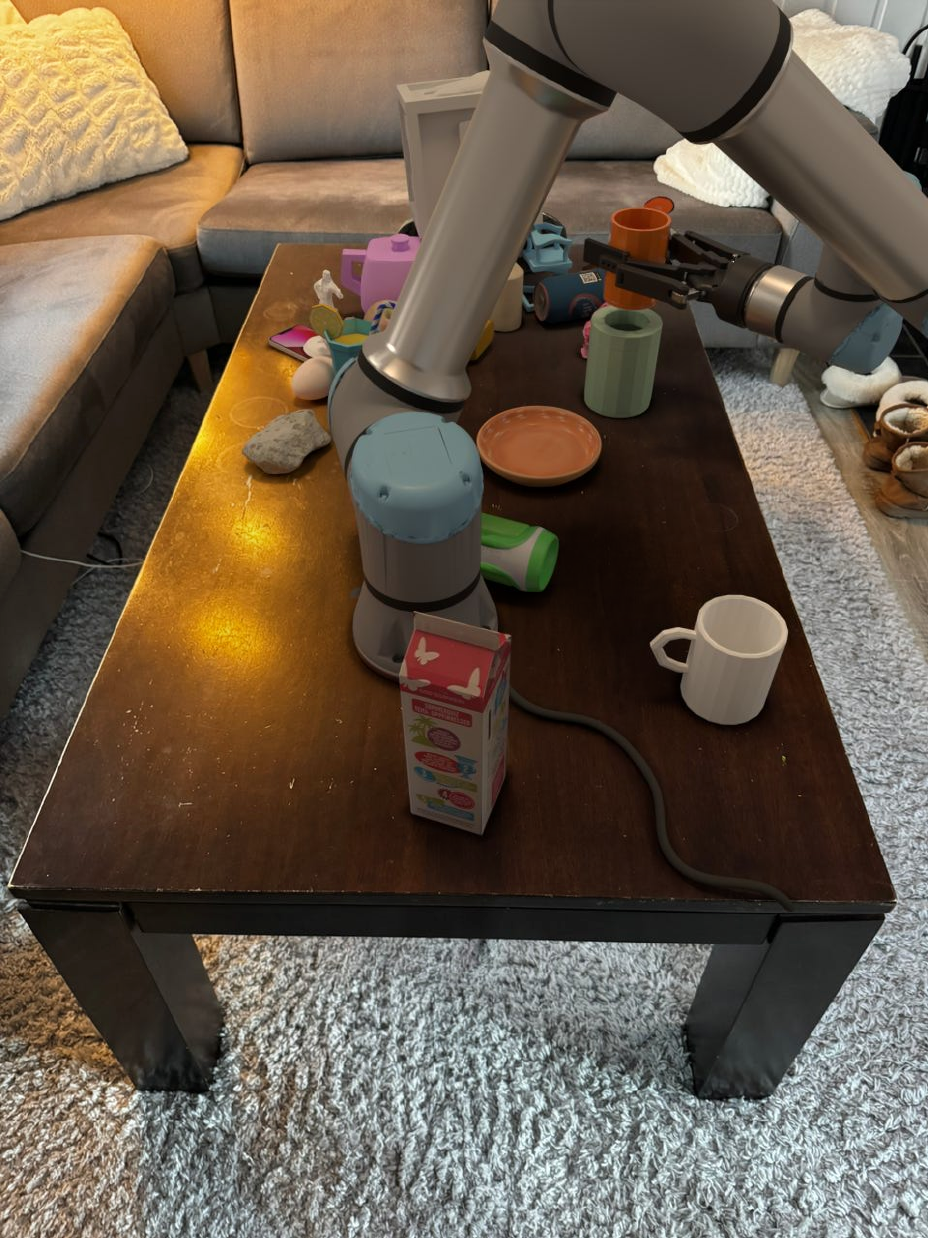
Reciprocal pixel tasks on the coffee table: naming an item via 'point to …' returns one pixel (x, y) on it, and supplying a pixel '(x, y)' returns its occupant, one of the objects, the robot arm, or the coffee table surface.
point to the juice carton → (455, 719)
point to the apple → (384, 318)
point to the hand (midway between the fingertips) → (606, 239)
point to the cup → (343, 331)
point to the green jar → (621, 361)
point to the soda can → (569, 296)
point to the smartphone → (293, 340)
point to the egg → (313, 378)
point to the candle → (509, 303)
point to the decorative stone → (286, 442)
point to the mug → (728, 658)
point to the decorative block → (435, 136)
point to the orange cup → (636, 250)
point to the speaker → (517, 553)
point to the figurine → (324, 293)
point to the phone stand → (546, 255)
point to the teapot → (380, 268)
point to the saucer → (539, 445)
